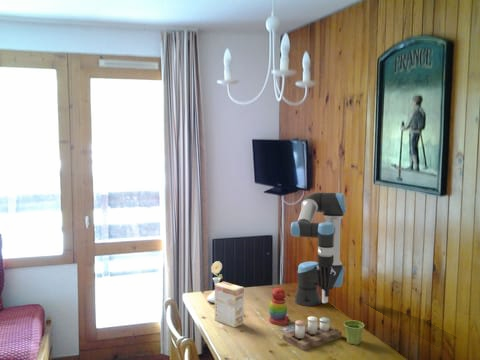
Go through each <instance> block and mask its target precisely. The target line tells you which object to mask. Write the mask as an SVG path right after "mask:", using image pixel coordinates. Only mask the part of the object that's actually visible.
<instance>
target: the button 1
mask: <svg viewBox="0 0 480 360" xmlns="http://www.w3.org/2000/svg"><path fill="white" fill-rule="evenodd" d="M294 324H295V336H296V337H297V338H304V337H305V326H306V321H305V320H302V319H297V320H295V321H294Z"/></svg>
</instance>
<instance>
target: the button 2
mask: <svg viewBox="0 0 480 360" xmlns="http://www.w3.org/2000/svg"><path fill="white" fill-rule="evenodd" d="M330 322H331V320H330V318H328V317H324V316H323V317H319V323H320V331H322V332H324V333H325V332H328V331H329V326H330Z"/></svg>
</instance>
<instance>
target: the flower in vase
mask: <svg viewBox="0 0 480 360" xmlns="http://www.w3.org/2000/svg"><path fill="white" fill-rule="evenodd" d="M210 269H211V271H210V272H211V273H212V274H213V275H214V276H216V277H212V281H213V283H214V285H215V284H217V283H220V281H221V280H222V279H223V278H224V277H223V274H222V273H221V274H220V272H221V270H222V269H223V264H222V263H221V262H220V260H218V261H217V260H216V261H214V263H212V265H211V266H210ZM206 298H207V299H206V300H207V301H208V302H210V303H212V304H215V289H214V290H213V291H212V293H210V294H209V295H208V296H207V297H206Z"/></svg>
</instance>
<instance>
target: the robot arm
mask: <svg viewBox="0 0 480 360" xmlns="http://www.w3.org/2000/svg"><path fill="white" fill-rule="evenodd" d="M300 207H301V208H300V209H301V210H300V213H299V216H298V219H297V221H291V224H290V235H291V236H292V237H295V238H296V237H297V238H313V239H314V238H315V239H317V254H318V255H317V261H313V260H312V261H311V260H310V261H304V262H301V263H300V264H299V265H298V266H297V290H296V293H295V295H294V302H295V304H297V305H300V306H306V307H314V306H318V305H320V304H321V303H322V304H327V303H329V296H330V290H333V288H340V287H342V286H343V281H344V276H345V271H346V270H345V269H346V267H345V266H343V263H342V262H341V260H340V259H341V225H342V223H341V221H342V219H343V218H344V217H345V214H347V205H346V198H345V194H343V193H340V192H314V193H311V194H309V195H307V196H306V197H305V198H304V199H303V200H302V202H301V204H300ZM316 213H322V215H323V218H325V222H313V221H314V217H315V214H316ZM319 288H320V292H319ZM320 294H321V296H320Z"/></svg>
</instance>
